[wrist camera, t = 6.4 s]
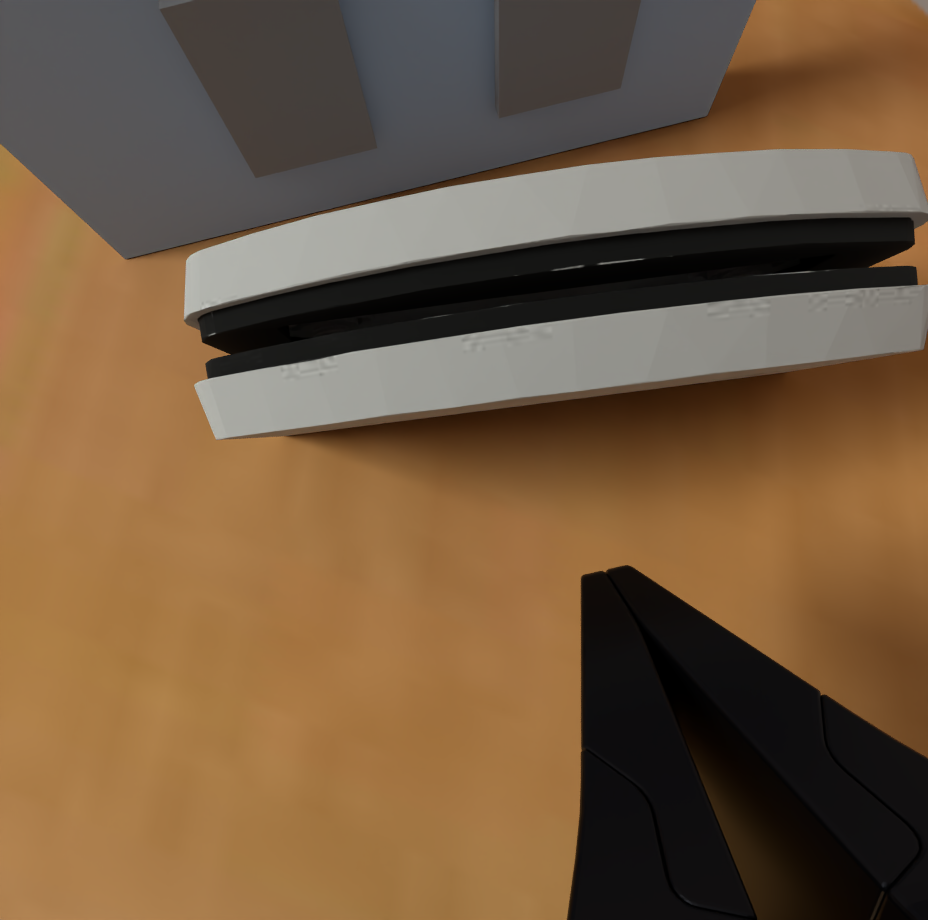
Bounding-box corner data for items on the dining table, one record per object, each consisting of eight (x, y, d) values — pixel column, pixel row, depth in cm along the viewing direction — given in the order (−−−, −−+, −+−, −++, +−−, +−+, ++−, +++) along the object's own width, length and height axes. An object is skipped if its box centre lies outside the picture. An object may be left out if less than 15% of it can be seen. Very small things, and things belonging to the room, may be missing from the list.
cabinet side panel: (712, 126, 19) (920, -346, 10) (126, 270, 19) (-242, -61, 10) (688, 75, 20) (862, -413, 10) (122, 214, 20) (-225, -145, 10)
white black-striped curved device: (753, 236, 18) (1093, 12, 8) (765, 375, 18) (1105, 324, 8) (272, 301, 19) (38, 166, 9) (292, 435, 19) (89, 453, 9)
